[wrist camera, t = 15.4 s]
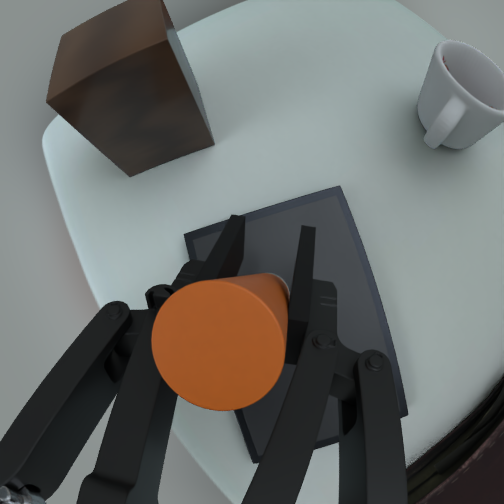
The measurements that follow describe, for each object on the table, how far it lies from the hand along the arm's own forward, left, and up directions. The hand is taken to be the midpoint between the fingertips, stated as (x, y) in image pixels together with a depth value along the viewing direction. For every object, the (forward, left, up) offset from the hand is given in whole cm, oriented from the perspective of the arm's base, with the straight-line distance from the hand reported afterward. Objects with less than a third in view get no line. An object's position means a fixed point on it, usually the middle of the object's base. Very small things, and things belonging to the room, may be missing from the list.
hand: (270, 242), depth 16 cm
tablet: (0, -5, -6) cm, 8 cm away
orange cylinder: (-1, -2, -4) cm, 5 cm away
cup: (+18, +7, -6) cm, 20 cm away
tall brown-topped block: (-6, +15, -6) cm, 17 cm away
